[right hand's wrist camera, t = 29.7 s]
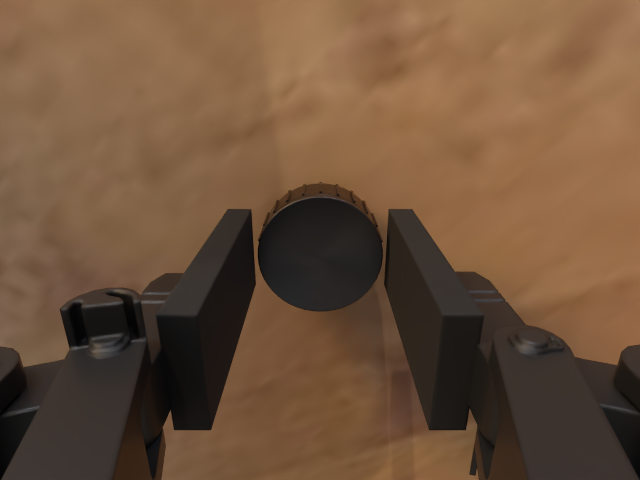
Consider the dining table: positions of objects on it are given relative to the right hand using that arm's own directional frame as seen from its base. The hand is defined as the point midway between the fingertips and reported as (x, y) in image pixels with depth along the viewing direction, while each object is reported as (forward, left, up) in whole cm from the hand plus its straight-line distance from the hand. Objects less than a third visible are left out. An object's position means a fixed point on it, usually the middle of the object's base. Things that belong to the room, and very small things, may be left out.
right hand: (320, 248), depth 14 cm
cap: (0, 0, 0) cm, 0 cm away
